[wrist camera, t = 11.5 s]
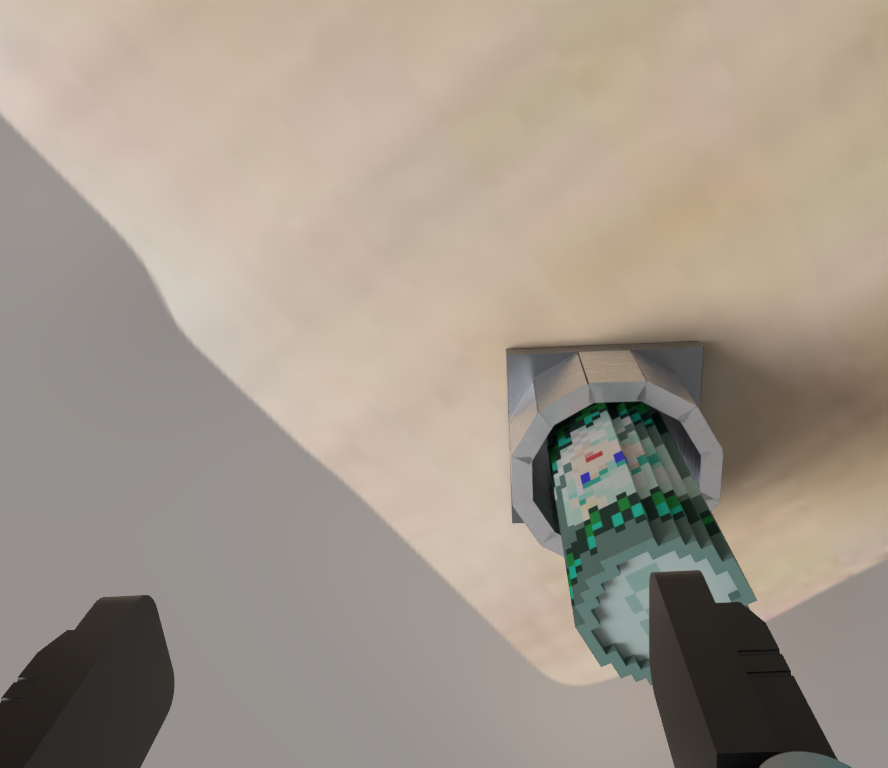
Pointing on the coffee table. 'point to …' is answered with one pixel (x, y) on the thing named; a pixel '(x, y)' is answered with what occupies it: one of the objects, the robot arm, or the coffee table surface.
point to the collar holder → (596, 381)
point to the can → (630, 526)
